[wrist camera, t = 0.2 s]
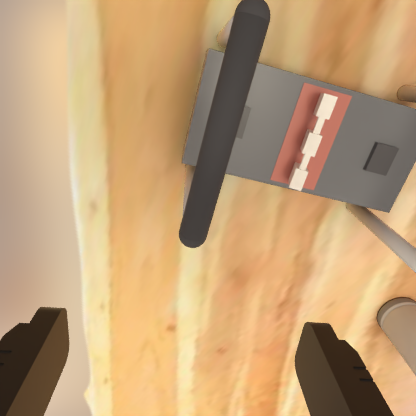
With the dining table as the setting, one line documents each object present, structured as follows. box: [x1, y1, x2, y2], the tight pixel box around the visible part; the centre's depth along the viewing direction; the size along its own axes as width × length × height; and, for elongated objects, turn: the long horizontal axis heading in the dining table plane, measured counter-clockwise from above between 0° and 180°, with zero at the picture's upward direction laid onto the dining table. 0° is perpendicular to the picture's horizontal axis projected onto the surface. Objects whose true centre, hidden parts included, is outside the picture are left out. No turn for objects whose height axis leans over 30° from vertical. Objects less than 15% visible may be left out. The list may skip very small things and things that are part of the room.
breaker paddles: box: [288, 93, 338, 191], centre depth 32 cm, size 9×1×3 cm, turn 165°
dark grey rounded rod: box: [179, 0, 270, 248], centre depth 21 cm, size 16×2×2 cm, turn 165°
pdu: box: [182, 16, 416, 273], centre depth 31 cm, size 16×24×16 cm, turn 75°
